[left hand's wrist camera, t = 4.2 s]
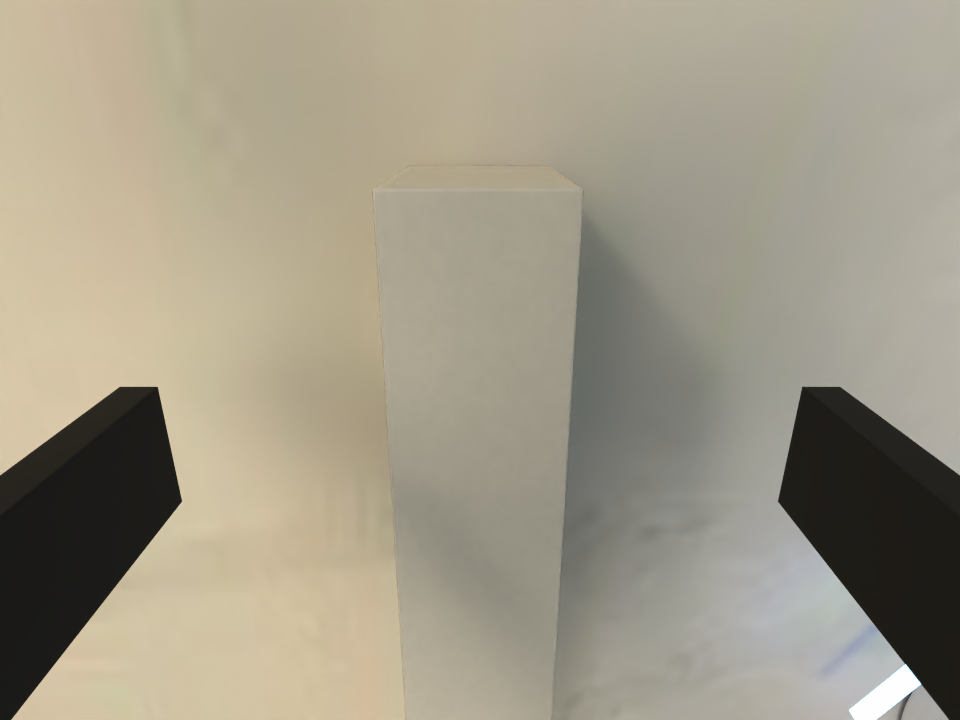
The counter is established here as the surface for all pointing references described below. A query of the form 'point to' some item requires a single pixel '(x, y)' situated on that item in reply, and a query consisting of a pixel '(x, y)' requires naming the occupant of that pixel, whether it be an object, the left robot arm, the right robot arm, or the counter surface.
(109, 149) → the counter surface
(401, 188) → the post
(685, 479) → the counter surface
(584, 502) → the counter surface
